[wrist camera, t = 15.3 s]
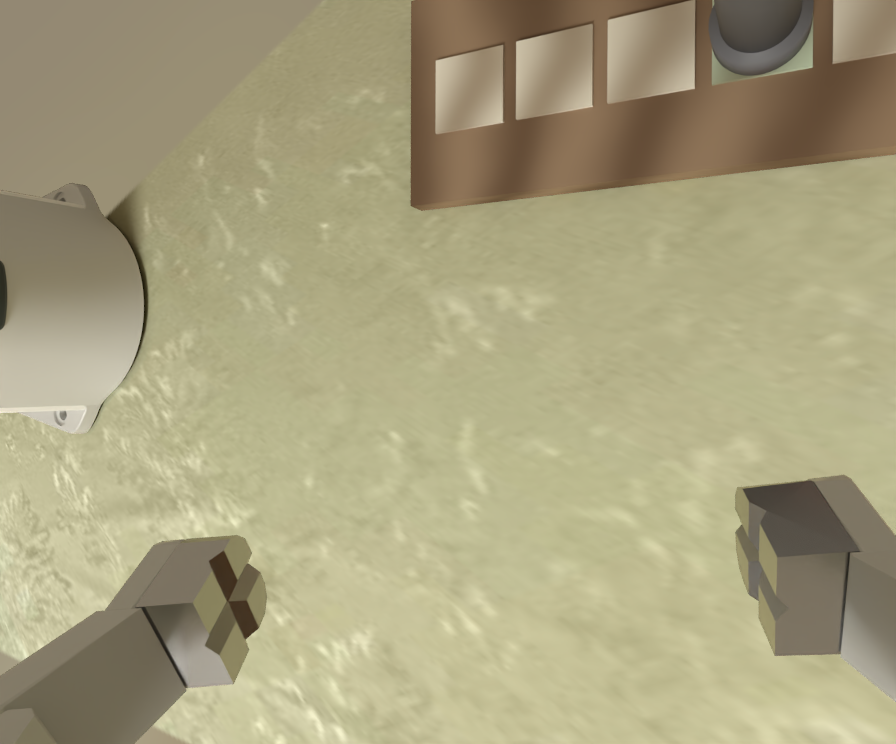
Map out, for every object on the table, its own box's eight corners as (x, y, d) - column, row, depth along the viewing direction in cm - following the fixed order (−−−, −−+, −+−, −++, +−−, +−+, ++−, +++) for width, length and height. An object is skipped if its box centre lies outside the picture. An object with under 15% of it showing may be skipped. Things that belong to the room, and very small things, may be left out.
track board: (421, 210, 36) (409, 205, 35) (422, 12, 36) (409, -1, 34) (992, 142, 25) (1004, 130, 23) (996, -147, 24) (1008, -175, 23)
